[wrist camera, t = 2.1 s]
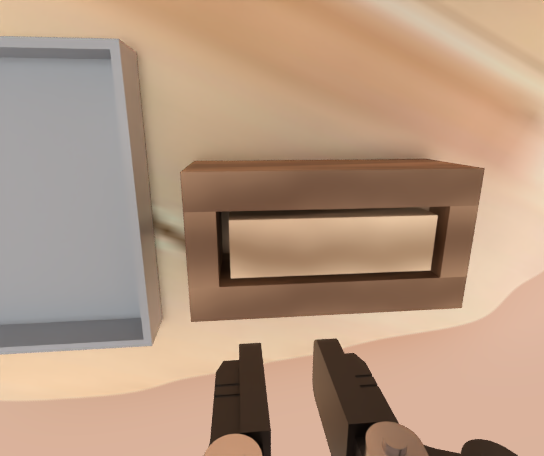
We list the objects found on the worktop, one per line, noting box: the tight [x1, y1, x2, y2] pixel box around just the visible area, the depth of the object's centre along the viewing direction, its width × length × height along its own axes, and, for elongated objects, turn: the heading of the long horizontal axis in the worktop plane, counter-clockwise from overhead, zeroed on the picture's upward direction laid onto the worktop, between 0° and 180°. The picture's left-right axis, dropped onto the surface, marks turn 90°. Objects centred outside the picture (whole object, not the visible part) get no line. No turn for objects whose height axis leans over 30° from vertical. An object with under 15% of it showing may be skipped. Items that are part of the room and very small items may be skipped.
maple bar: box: [229, 207, 438, 278], centre depth 25 cm, size 4×14×2 cm, turn 90°
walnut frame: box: [180, 159, 485, 322], centre depth 27 cm, size 10×20×7 cm, turn 90°
